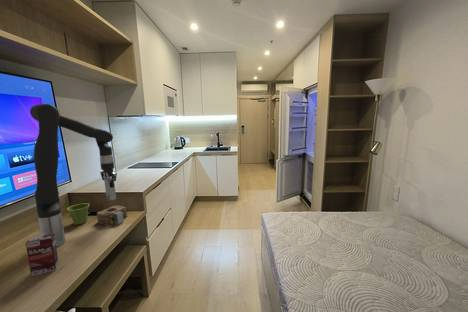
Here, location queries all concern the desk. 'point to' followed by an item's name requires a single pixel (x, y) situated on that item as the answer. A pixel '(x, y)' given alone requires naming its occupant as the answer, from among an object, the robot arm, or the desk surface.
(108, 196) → the tall pin
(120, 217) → the grey rectangular block
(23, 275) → the desk surface
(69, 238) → the desk surface
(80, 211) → the plant pot
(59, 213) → the robot arm
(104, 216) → the block with rectangular hole
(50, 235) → the supplement box
